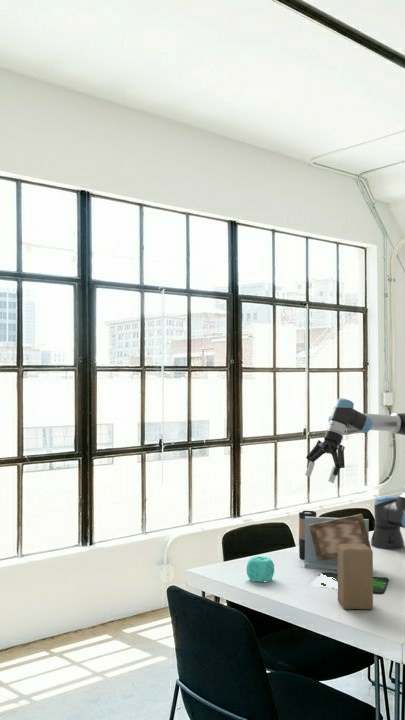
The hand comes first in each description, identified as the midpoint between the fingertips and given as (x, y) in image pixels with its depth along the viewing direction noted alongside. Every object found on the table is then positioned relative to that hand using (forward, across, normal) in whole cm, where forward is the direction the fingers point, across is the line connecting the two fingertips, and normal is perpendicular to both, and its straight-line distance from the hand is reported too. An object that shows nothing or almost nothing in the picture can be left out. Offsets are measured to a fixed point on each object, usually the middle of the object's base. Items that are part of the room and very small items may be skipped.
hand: (318, 479), depth 291 cm
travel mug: (+33, -5, +16) cm, 36 cm away
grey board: (+31, +12, +14) cm, 36 cm away
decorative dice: (+47, +8, -21) cm, 52 cm away
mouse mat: (+36, +31, +2) cm, 47 cm away
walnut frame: (+26, +17, +10) cm, 33 cm away
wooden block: (+42, +51, -18) cm, 68 cm away
